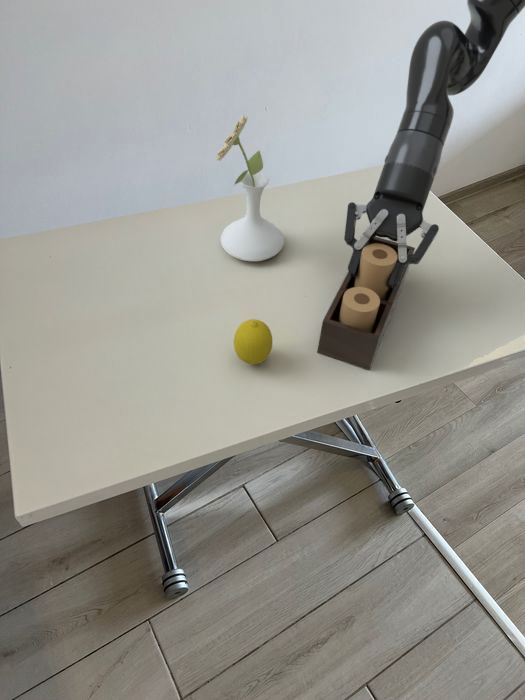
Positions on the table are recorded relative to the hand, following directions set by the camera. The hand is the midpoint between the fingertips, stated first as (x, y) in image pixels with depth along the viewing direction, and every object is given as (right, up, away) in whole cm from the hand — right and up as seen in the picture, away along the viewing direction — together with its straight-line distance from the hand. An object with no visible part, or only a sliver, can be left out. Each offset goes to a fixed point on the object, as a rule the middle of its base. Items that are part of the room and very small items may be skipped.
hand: (371, 281), depth 79 cm
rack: (0, -4, +7) cm, 8 cm away
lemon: (-18, -12, 0) cm, 21 cm away
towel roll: (+1, -2, +5) cm, 5 cm away
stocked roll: (-3, -9, +3) cm, 10 cm away
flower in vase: (-19, +8, +17) cm, 27 cm away
